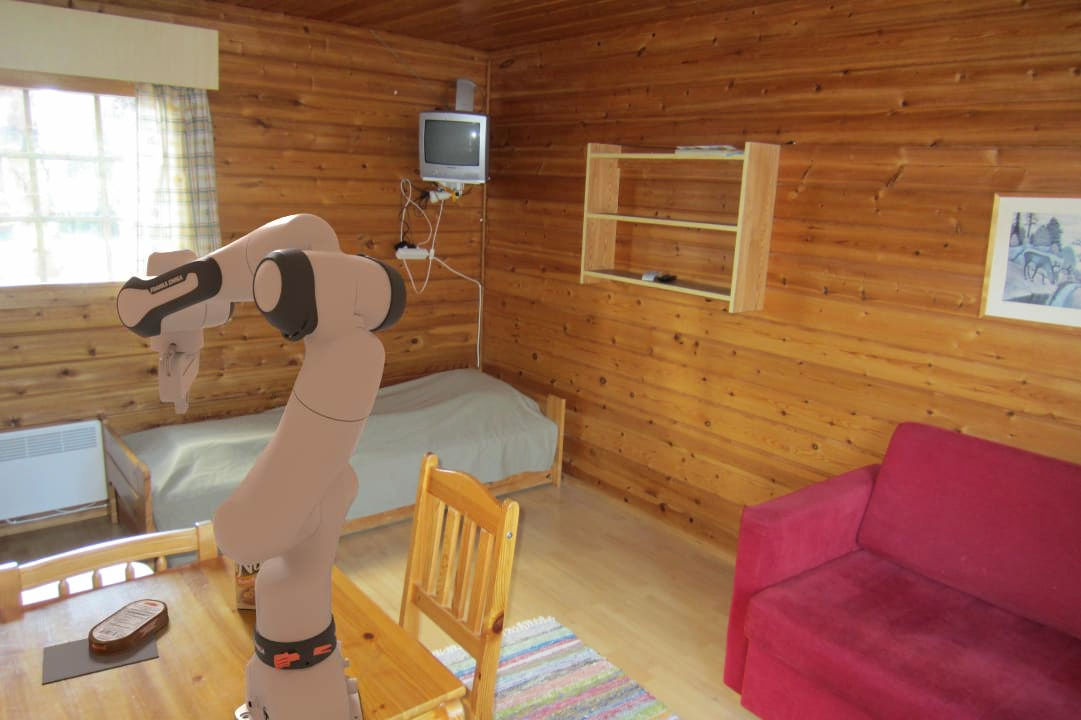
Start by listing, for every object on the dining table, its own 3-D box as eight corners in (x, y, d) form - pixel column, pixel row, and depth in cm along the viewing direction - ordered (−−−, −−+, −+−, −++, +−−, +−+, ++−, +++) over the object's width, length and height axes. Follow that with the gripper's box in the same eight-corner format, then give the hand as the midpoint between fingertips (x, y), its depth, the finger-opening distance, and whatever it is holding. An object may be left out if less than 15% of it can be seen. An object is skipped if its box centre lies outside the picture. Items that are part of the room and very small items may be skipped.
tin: (76, 650, 139) (118, 662, 137) (76, 634, 138) (118, 646, 136) (140, 606, 153) (178, 617, 151) (140, 592, 152) (178, 602, 150)
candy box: (235, 609, 154) (231, 534, 150) (244, 598, 158) (241, 525, 154) (281, 612, 153) (278, 537, 150) (289, 600, 157) (286, 527, 154)
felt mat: (158, 656, 138) (158, 655, 138) (42, 684, 130) (42, 683, 130) (153, 624, 147) (153, 623, 147) (43, 648, 139) (43, 647, 139)
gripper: (186, 351, 138) (191, 428, 141) (203, 327, 157) (207, 396, 160) (146, 351, 136) (152, 430, 139) (168, 327, 155) (173, 397, 159)
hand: (182, 411), depth 150 cm, fingers closed
